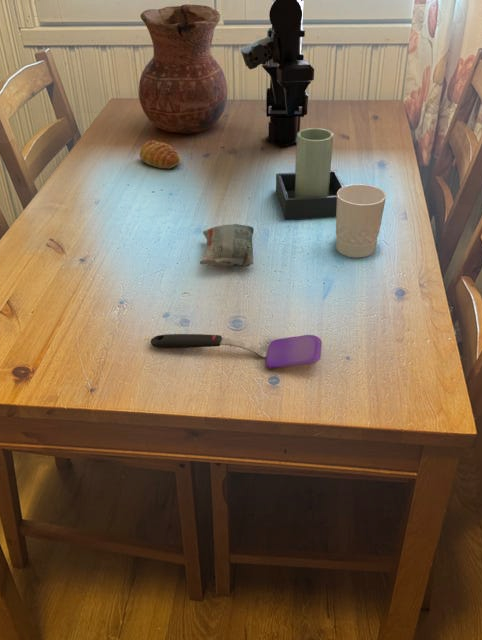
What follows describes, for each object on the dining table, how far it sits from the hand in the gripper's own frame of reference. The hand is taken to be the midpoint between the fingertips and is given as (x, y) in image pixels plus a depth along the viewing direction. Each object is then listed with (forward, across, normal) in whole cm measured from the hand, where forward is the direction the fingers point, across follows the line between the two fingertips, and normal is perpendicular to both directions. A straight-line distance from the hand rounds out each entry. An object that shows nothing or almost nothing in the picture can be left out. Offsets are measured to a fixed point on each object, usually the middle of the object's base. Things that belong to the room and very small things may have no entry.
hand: (283, 109), depth 137 cm
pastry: (+13, -11, -24) cm, 30 cm away
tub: (+14, +16, +2) cm, 21 cm away
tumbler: (+13, +16, +2) cm, 21 cm away
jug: (+11, -33, -16) cm, 38 cm away
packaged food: (+15, +33, -18) cm, 40 cm away
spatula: (+17, +59, -22) cm, 65 cm away
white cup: (+15, +34, +4) cm, 38 cm away
